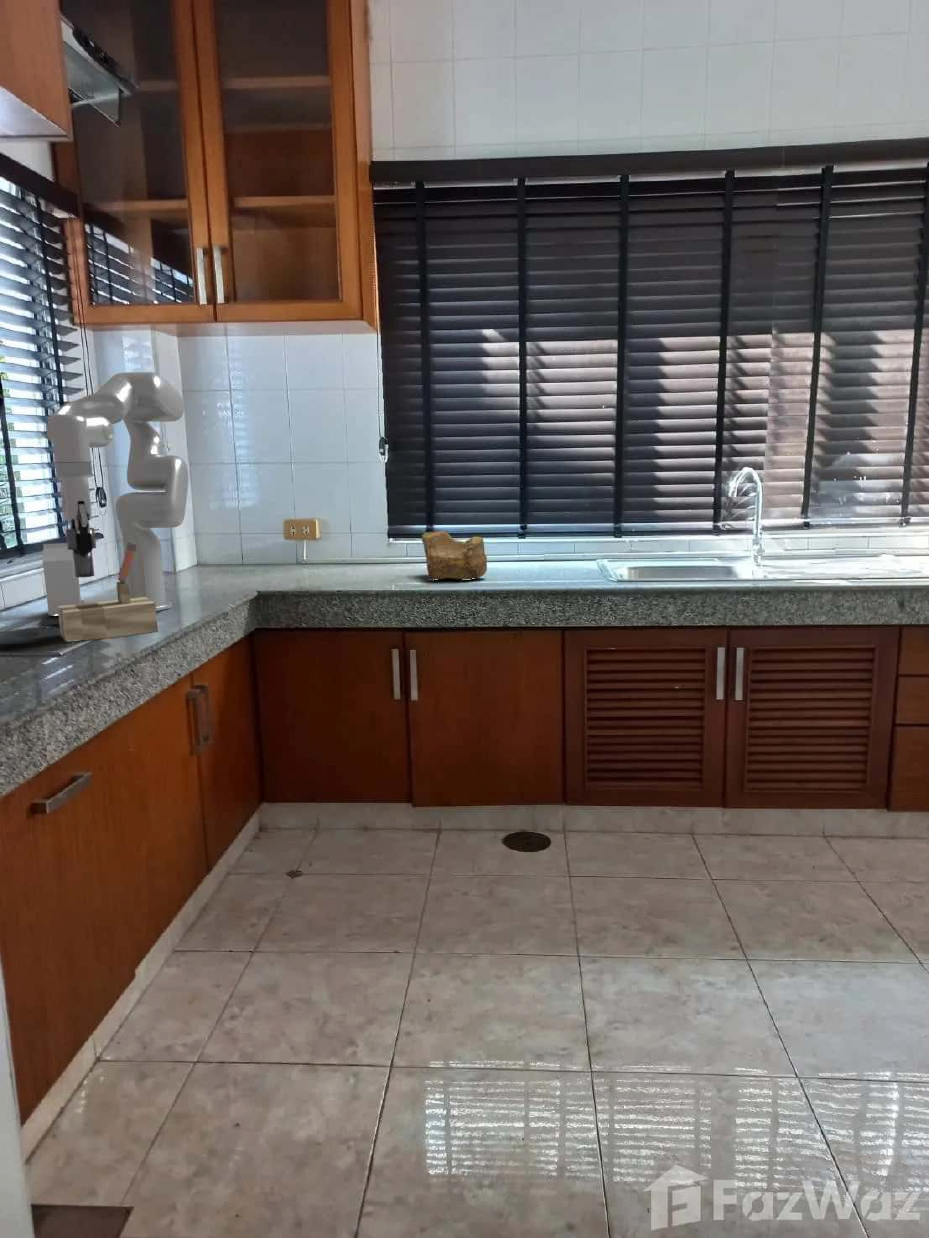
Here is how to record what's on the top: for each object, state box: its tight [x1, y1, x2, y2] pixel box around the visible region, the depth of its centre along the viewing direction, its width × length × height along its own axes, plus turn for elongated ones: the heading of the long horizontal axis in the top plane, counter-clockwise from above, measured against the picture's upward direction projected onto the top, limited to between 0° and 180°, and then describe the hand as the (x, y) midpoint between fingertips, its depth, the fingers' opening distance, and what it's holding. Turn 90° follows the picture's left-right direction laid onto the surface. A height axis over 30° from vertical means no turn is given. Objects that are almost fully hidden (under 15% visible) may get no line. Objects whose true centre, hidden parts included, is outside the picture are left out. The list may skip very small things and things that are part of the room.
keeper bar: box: [117, 542, 137, 583], centre depth 201 cm, size 5×10×1 cm
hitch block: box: [58, 581, 159, 643], centre depth 200 cm, size 10×20×12 cm, turn 123°
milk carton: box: [41, 542, 82, 616], centre depth 223 cm, size 7×7×19 cm
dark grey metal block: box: [65, 527, 97, 578], centre depth 195 cm, size 6×6×11 cm
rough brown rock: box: [421, 530, 488, 580], centre depth 272 cm, size 23×17×15 cm
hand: (82, 548), depth 195 cm, fingers closed on dark grey metal block, 6 cm apart
